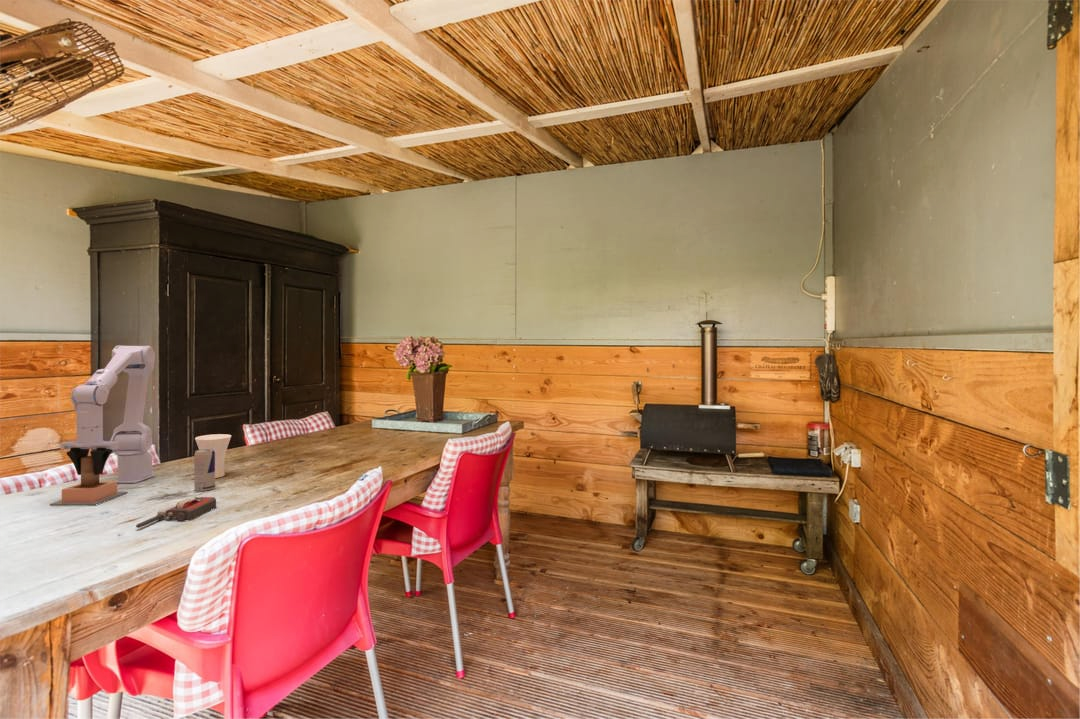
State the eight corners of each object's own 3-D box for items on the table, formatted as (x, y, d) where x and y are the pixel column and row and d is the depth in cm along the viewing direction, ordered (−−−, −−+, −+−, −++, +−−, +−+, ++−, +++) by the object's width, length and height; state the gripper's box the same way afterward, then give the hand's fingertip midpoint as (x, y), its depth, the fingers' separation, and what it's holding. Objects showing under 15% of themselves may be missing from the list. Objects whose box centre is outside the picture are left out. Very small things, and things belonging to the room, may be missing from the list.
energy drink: (219, 487, 163) (219, 449, 163) (206, 492, 158) (206, 452, 158) (203, 486, 164) (203, 448, 163) (190, 491, 158) (190, 452, 158)
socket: (85, 493, 155) (85, 480, 154) (127, 493, 155) (127, 479, 155) (49, 505, 143) (49, 491, 143) (96, 505, 143) (95, 491, 143)
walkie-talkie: (189, 506, 145) (132, 532, 125) (189, 490, 145) (132, 513, 125) (220, 507, 145) (168, 532, 125) (220, 491, 145) (168, 514, 125)
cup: (205, 472, 181) (205, 434, 181) (237, 472, 182) (237, 434, 182) (188, 480, 171) (188, 439, 170) (222, 480, 172) (222, 439, 171)
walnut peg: (88, 482, 151) (88, 455, 151) (103, 482, 151) (102, 455, 151) (77, 486, 147) (76, 458, 147) (91, 486, 147) (91, 458, 147)
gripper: (50, 429, 144) (51, 477, 144) (105, 429, 145) (106, 477, 145) (71, 425, 151) (72, 471, 151) (124, 425, 152) (124, 471, 152)
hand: (90, 474), depth 149 cm, fingers closed on walnut peg, 4 cm apart
